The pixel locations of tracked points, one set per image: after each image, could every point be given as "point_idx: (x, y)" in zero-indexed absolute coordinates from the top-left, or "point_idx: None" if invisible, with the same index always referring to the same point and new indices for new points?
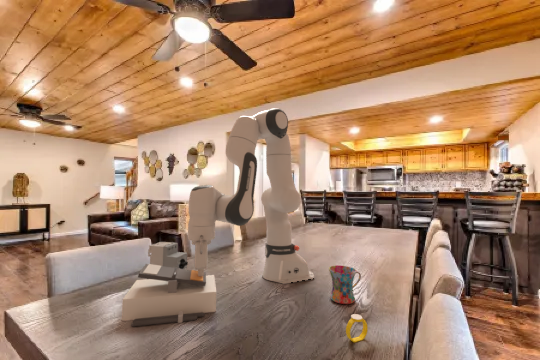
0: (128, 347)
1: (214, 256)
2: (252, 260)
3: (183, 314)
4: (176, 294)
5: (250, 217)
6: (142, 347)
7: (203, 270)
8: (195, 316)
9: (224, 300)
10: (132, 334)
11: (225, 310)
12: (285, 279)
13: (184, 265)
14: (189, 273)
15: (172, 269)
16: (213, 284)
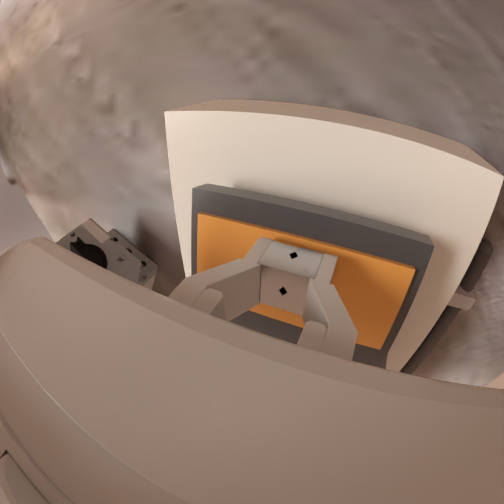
0: (477, 377)
1: (6, 123)
2: (20, 15)
3: None
4: (409, 352)
5: None
6: (497, 362)
7: (336, 291)
8: (491, 253)
9: (354, 61)
10: (437, 373)
11: (470, 99)
12: None
13: (94, 256)
14: (257, 317)
15: None
16: (366, 144)
